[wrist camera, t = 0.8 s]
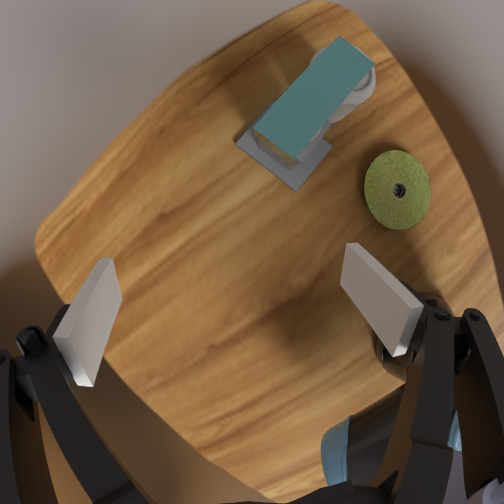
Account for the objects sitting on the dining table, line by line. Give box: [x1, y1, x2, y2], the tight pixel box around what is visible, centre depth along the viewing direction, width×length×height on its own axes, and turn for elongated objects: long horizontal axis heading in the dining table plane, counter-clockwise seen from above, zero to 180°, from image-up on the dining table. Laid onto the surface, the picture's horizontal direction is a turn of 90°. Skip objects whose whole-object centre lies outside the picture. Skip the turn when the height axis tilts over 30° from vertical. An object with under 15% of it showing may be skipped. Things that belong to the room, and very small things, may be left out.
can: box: [308, 46, 376, 123], centre depth 29 cm, size 8×8×12 cm
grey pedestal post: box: [236, 100, 333, 192], centre depth 31 cm, size 10×8×12 cm
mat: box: [364, 150, 431, 230], centre depth 37 cm, size 11×11×2 cm
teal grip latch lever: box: [253, 36, 375, 163], centre depth 19 cm, size 4×15×10 cm, turn 142°
